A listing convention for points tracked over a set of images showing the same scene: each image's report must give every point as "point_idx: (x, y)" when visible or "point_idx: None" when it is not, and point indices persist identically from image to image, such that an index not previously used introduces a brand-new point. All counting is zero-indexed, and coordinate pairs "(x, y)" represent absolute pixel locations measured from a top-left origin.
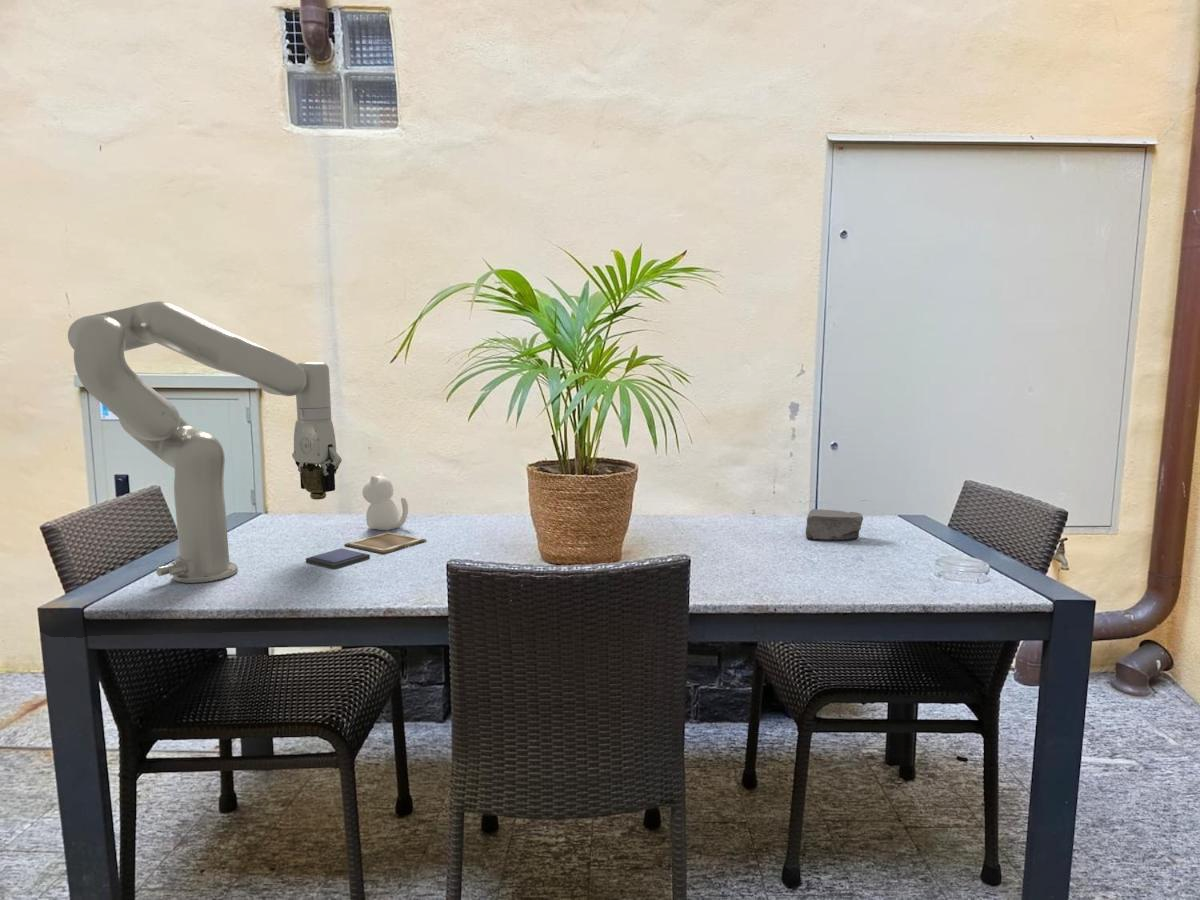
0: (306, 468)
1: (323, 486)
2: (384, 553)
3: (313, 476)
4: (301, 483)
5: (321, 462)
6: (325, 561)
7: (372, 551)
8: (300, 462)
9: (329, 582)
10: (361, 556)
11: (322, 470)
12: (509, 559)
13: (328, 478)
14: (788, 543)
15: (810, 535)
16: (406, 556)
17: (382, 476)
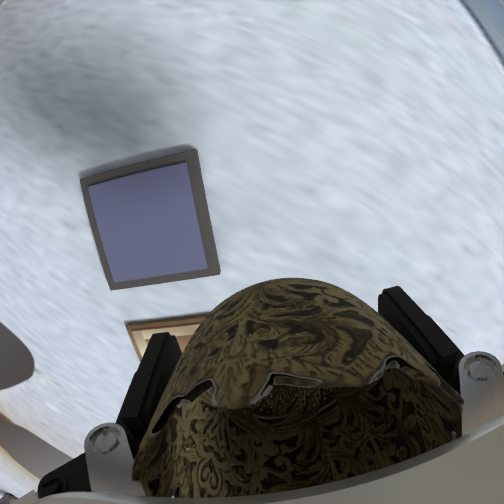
0: (222, 403)
1: (148, 354)
2: (128, 327)
3: (180, 370)
4: (403, 303)
5: (34, 502)
6: (123, 176)
7: (162, 320)
8: (471, 432)
9: (16, 130)
10: (106, 268)
11: (133, 459)
12: (11, 401)
13: (118, 416)
14: (7, 488)
15: (10, 496)
16: (85, 341)
17: None
